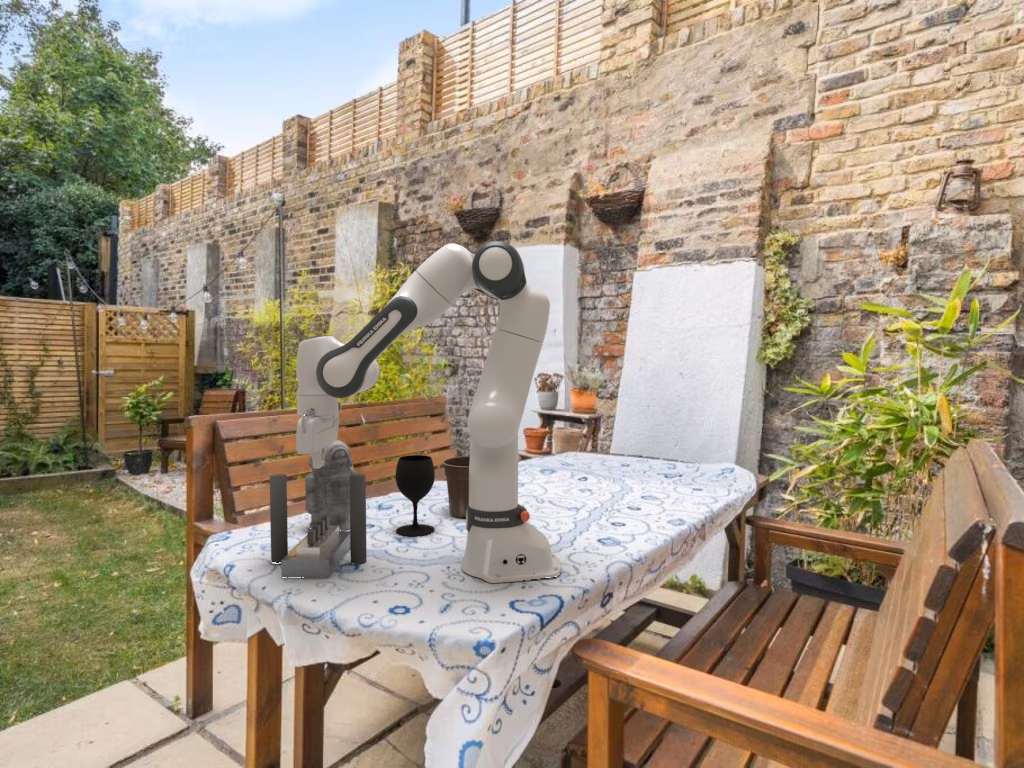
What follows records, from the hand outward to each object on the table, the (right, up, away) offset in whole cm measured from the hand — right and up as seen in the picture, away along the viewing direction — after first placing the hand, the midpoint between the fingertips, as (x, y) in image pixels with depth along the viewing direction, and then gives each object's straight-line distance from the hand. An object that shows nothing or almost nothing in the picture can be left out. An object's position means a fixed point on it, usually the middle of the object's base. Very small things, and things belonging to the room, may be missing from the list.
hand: (318, 467), depth 133 cm
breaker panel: (0, -22, +1) cm, 22 cm away
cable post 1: (-9, -22, +1) cm, 24 cm away
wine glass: (+18, -21, +25) cm, 37 cm away
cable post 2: (+9, -22, +1) cm, 24 cm away
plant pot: (+31, -20, +42) cm, 56 cm away
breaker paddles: (0, -16, +1) cm, 16 cm away
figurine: (-5, -21, +27) cm, 34 cm away
